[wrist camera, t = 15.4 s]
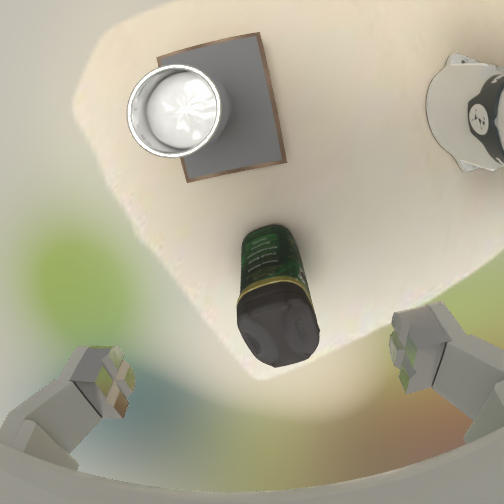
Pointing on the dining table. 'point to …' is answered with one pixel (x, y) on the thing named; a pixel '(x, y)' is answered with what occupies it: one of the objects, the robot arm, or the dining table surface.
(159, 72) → the beer glass
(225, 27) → the dining table surface
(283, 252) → the coffee jar
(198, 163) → the walnut plinth
